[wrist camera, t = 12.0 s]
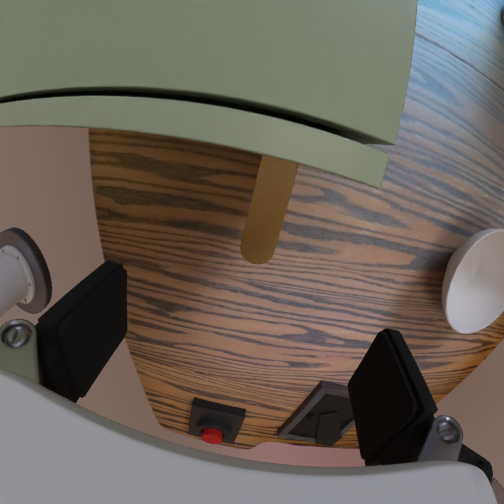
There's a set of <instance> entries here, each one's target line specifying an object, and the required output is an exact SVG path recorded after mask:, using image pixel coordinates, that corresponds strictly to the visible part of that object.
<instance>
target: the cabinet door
mask: <svg viewBox="0 0 504 504" xmlns="http://www.w3.org/2000/svg"><path fill="white" fill-rule="evenodd" d="M14 126H15V127H16V126H59V127H60V126H61V127H83V128H98V129H110V130H121V131H130V132H139V133H147V134H155V135H162V136H169V137H176V138H182V139H188V140H194V141H200V142H205V143H210V144H216V145H221V146H226V147H231V148H235V149H240V150H244V151H249V152H253V153H258V154H262V158H261V162H260V166H259V170H258V174H257V178H256V182H255V187H254V191H253V195H252V199H251V203H250V207H249V212H248V216H247V220H246V224H245V228H244V233H243V237H242V241H241V246H240V249H241V253H242V255H243V257H244V258H245V259H246V260H247V261H248V262H250V263H253V264H263V263H266V262H267V261H269V260H270V259H271V258H272V256H273V254H274V252H275V248H276V245H277V241H278V237H279V234H280V230H281V227H282V223H283V220H284V216H285V212H286V209H287V205H288V201H289V198H290V194H291V190H292V187H293V183H294V179H295V175H296V172H297V168H298V164H301V165H304V166H308V167H311V168H315V169H318V170H321V171H325V172H328V173H331V174H335V175H338V176H341V177H344V178H347V179H350V180H353V181H356V182H359V183H362V184H365V185H368V186H371V187H374V188H377V189H379V188H380V187H381V183H382V180H383V177H384V173H385V170H386V166H387V162H388V159H389V154H388V153H385V152H383V151H380V150H378V149H375V148H373V147H370V146H367V145H365V144H362V143H359V142H356V141H353V140H351V139H348V138H345V137H342V136H339V135H336V134H332V133H329V132H326V131H323V130H320V129H316V128H313V127H309V126H306V125H302V124H299V123H295V122H291V121H287V120H283V119H279V118H275V117H271V116H267V115H262V114H258V113H253V112H248V111H244V110H238V109H233V108H228V107H222V106H216V105H210V104H203V103H196V102H188V101H180V100H171V99H161V98H148V97H132V96H64V97H49V98H38V99H29V100H20V101H13V102H7V103H0V127H14Z"/></svg>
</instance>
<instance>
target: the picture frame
mask: <svg viewBox="0 0 504 504" xmlns="http://www.w3.org/2000/svg"><path fill="white" fill-rule="evenodd" d="M354 425H355V421H354V416H353V411H352V406H351V401H350V396H349V392H348V387H347V386H343V385H338V384H334V383H330V382H326V381H321V382H320V383H319V385H318V386H317V387H316V388H315V389H314V391H313V392H312V393H311V394H310V395H309V396H308V398H307V399H306V400H305V401H304V402H303V403H302V405H301V406H300V407H299V408H298V409H297V410H296V411H295V412H294V413H293V415H292V416H291V417H290V418H289V419H288V420H287V421H286V422H285V423H284V424H283V425H282V426H281V427H280V428H279V429H278V436H280V437H285V438H290V439H296V440H302V441H308V442H315V443H316V444H322V445H328V446H332V445H333V444H335V443H336V442H337V441H338V440H339V439H341V438H342V435H343V434H345V433H346V432H347V431H348V430H349V429H350V428H351V427H353V426H354Z"/></svg>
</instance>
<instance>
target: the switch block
mask: <svg viewBox="0 0 504 504" xmlns="http://www.w3.org/2000/svg"><path fill="white" fill-rule="evenodd" d="M245 412H246V409H241V408H236V407H231V406H227V405H222V404H218V403H214V402H210V401H206V400H202V399H198V398H194V402H193V405H192V411H191V418H190V425H189V432H188V434H190V435H194V436H198V437H201V438H202V433H203V430H204V429H205V428H212V429H217V430H219V431H221V432H222V433H223V437H222V442H224V443H229V444H234V441H235V439H236V437H237V435H238V432H239V430H240V428H241V425H242V423H243V421H244V418H245Z"/></svg>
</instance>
